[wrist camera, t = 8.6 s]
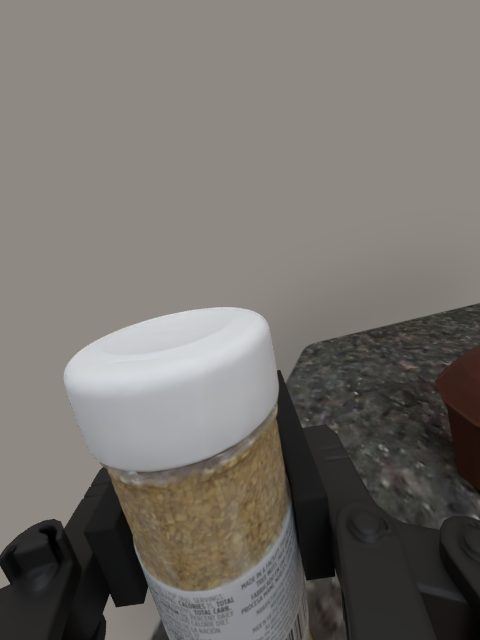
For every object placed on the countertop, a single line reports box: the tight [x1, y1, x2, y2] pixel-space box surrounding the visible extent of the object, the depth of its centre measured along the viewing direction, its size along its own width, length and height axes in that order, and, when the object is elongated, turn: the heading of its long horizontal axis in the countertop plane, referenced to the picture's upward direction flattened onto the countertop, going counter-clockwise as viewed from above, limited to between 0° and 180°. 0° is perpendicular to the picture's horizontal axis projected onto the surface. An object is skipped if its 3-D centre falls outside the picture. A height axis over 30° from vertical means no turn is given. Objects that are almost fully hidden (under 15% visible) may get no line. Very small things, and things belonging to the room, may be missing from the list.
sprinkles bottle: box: [63, 307, 312, 640], centre depth 8 cm, size 5×5×13 cm
